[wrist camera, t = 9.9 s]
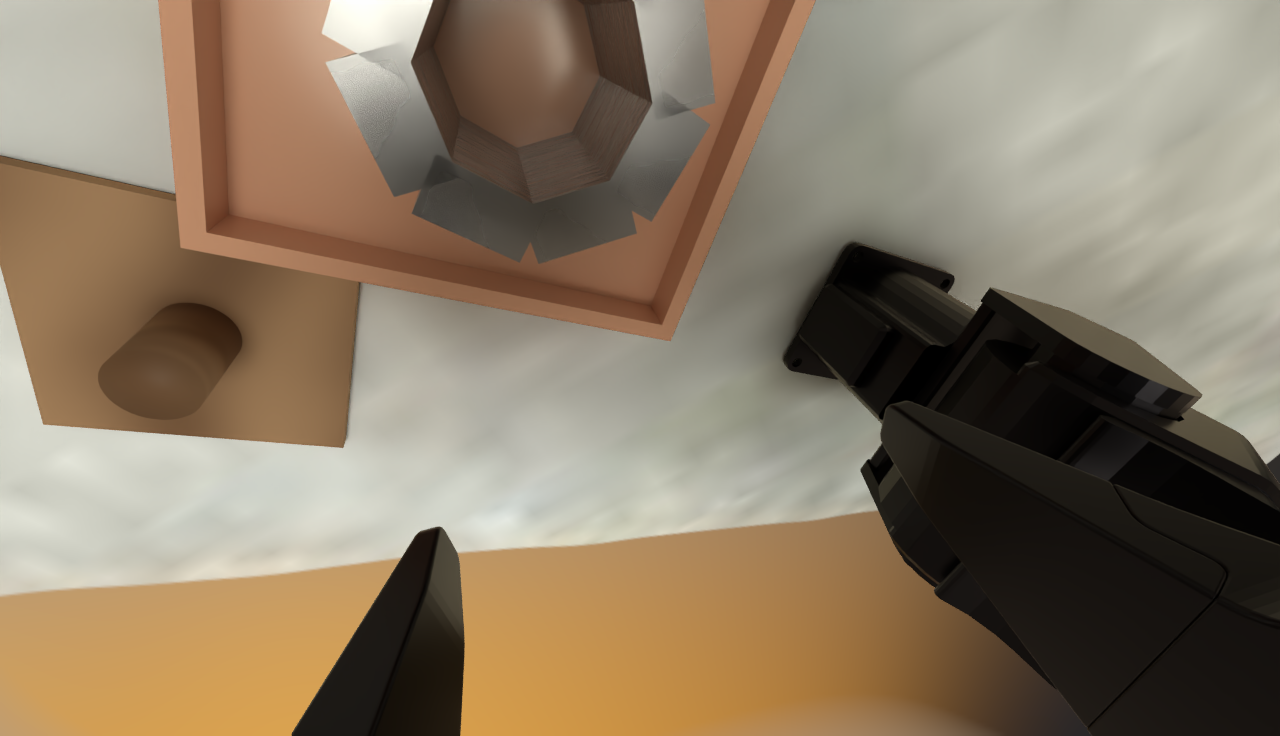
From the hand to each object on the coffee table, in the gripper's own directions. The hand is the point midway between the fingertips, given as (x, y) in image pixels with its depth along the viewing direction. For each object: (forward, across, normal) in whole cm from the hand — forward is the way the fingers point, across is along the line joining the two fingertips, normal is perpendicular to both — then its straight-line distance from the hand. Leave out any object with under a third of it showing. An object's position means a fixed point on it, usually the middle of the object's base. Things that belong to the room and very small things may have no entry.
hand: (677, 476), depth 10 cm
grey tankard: (+11, +1, -6) cm, 13 cm away
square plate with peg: (+12, +13, 0) cm, 18 cm away
